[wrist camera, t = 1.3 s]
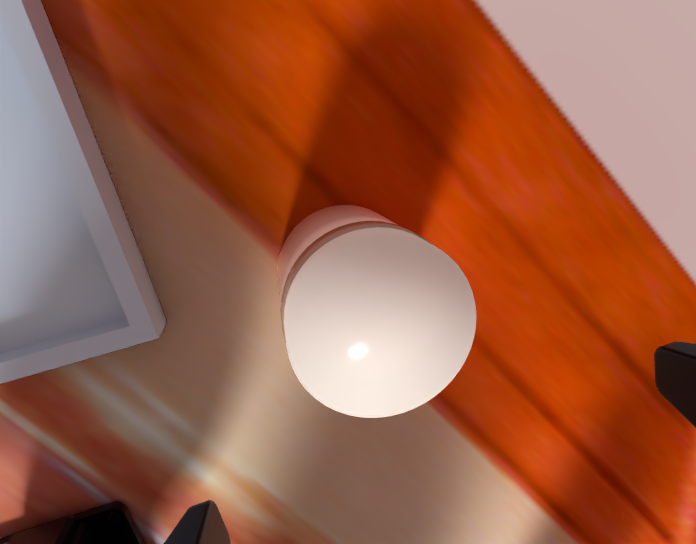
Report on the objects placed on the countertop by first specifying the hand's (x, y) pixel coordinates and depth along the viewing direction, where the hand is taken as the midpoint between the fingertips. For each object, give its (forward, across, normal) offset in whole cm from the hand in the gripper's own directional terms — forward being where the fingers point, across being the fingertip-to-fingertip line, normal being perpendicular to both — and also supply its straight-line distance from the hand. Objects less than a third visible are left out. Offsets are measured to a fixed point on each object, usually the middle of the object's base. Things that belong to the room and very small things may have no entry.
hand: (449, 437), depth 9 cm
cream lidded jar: (+12, 0, 0) cm, 12 cm away
